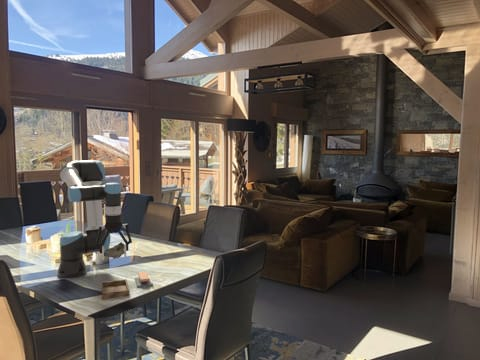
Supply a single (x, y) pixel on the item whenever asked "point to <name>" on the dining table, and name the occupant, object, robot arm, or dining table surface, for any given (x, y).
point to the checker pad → (143, 276)
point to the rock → (115, 251)
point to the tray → (114, 289)
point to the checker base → (139, 284)
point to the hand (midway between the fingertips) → (114, 258)
